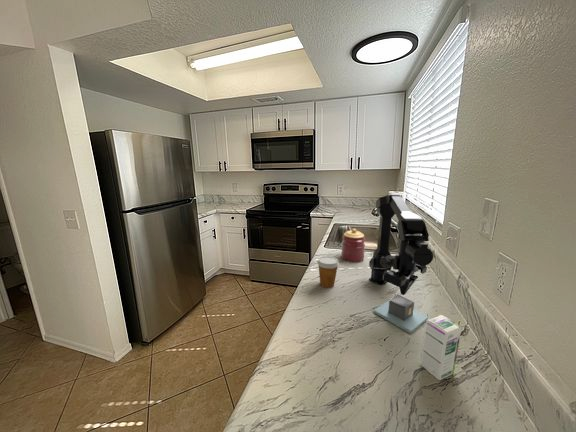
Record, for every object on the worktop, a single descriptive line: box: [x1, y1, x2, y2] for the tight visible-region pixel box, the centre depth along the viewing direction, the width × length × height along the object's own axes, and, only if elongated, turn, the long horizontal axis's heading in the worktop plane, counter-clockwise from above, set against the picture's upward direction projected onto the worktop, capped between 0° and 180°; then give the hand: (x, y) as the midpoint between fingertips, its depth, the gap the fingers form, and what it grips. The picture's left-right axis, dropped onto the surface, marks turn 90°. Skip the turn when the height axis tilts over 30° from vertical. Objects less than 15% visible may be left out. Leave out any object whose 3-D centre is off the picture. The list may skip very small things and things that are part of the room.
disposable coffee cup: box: [316, 255, 340, 289], centre depth 108 cm, size 10×10×12 cm
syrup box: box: [420, 314, 462, 382], centre depth 64 cm, size 6×6×14 cm
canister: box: [340, 228, 366, 263], centre depth 137 cm, size 13×13×18 cm
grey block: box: [388, 294, 415, 321], centre depth 87 cm, size 6×6×5 cm
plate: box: [373, 299, 429, 334], centre depth 87 cm, size 14×12×1 cm
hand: (402, 294), depth 85 cm, fingers closed
